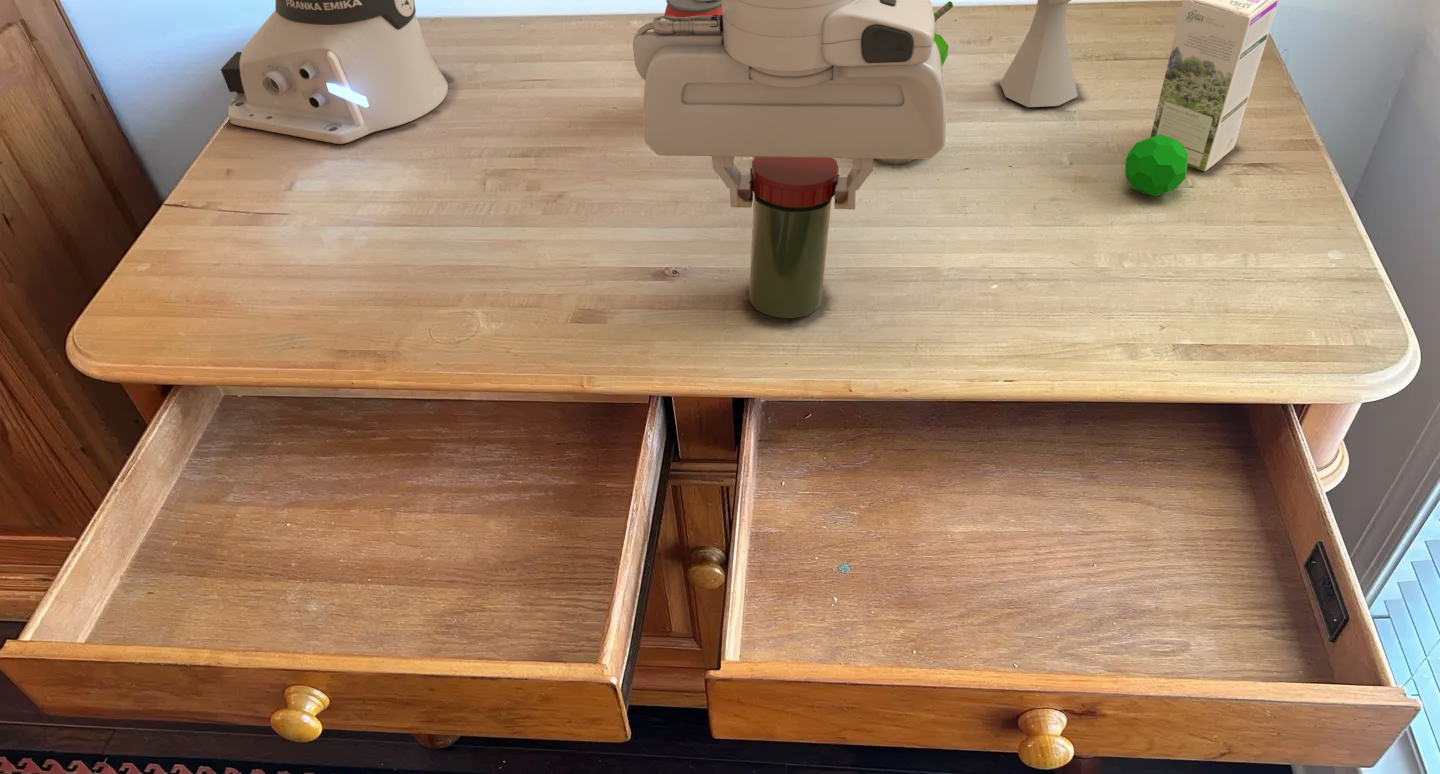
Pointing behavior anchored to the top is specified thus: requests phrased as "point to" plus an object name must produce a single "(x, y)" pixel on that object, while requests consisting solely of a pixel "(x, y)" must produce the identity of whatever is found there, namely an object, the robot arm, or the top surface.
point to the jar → (788, 258)
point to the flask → (1043, 61)
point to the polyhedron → (1156, 165)
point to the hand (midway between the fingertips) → (793, 204)
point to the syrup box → (1212, 75)
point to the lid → (794, 180)
